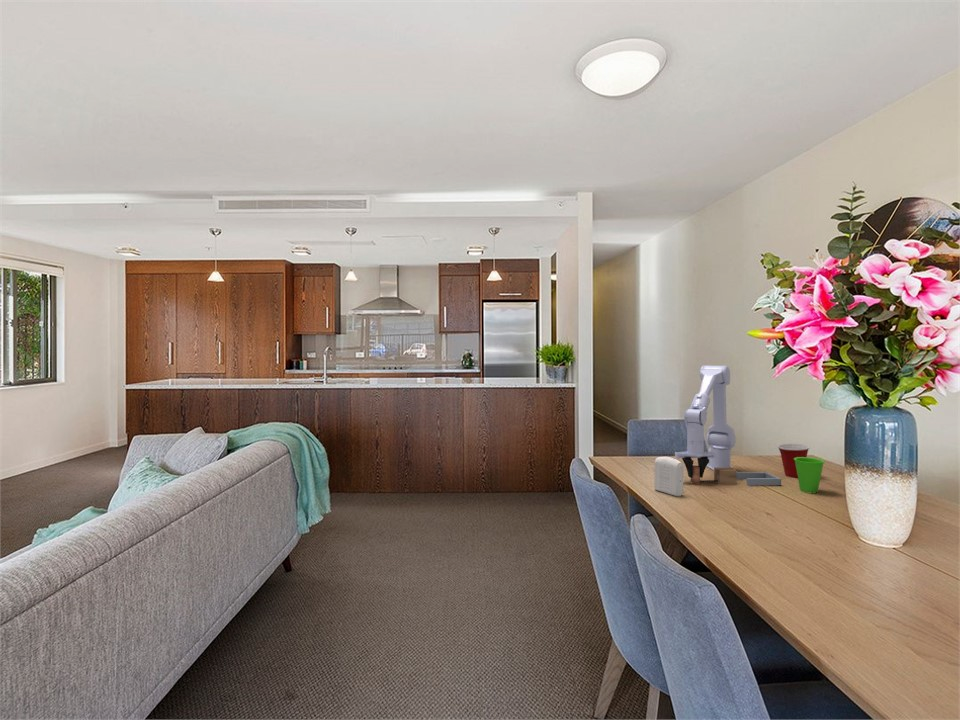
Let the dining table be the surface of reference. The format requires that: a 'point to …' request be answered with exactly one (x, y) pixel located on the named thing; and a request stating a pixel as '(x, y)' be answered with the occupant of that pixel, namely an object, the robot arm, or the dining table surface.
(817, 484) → the cup
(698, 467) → the tethered block
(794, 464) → the plastic cup
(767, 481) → the grey u-shaped bracket
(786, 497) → the dining table surface
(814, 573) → the dining table surface
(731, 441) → the robot arm
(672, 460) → the photo printer
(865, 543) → the dining table surface
